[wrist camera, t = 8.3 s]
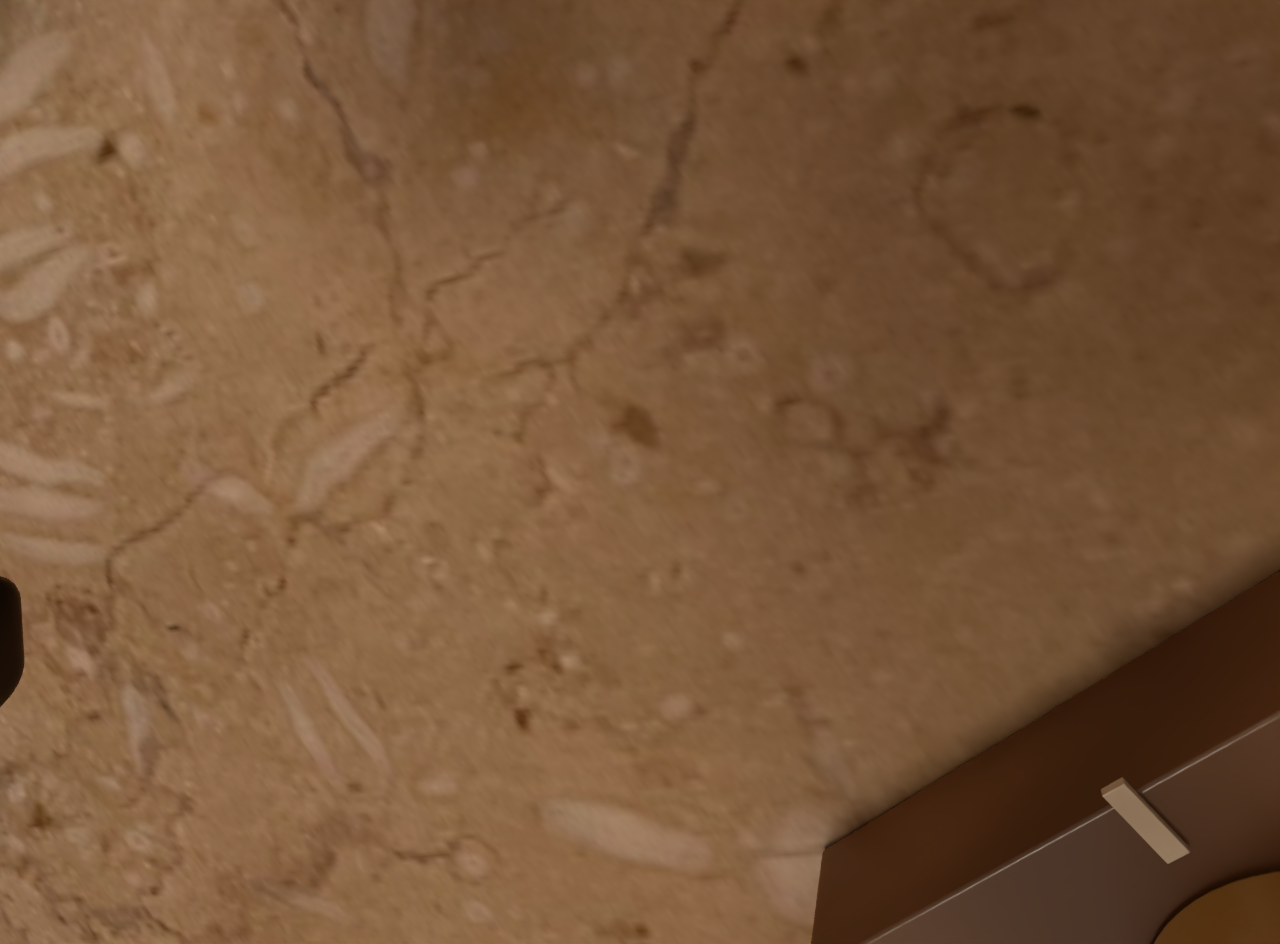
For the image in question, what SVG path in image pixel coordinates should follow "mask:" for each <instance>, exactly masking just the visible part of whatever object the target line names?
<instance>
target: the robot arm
mask: <svg viewBox="0 0 1280 944" xmlns="http://www.w3.org/2000/svg"><path fill="white" fill-rule="evenodd" d="M23 668H24V645H23V628H22V611H21V597H20V592H19V591H18V589H17V587H16V585H15V584H14V583H13V582H11V581H10V580H9V579H7V578H4V577H1V576H0V707H1V706H2V705H3V704H4V702H5V701H6V700H7V699H8V698H9V697H10V695H11V694H12V693H13V692H14V690H15V688H16V687H17V685H18V683H19V681H20V678H21V676H22V673H23Z"/></svg>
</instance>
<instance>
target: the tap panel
mask: <svg viewBox="0 0 1280 944" xmlns="http://www.w3.org/2000/svg"><path fill="white" fill-rule="evenodd" d="M1273 871H1280V571H1278V572H1277V573H1275V574H1273V575H1272V576H1270V577H1269V578H1267V579H1265V580H1264V581H1262V582H1260V583H1259V584H1257V585H1255V586H1254V587H1252V588H1251V589H1249V590H1247V591H1246V592H1244V593H1242V594H1241V595H1239V596H1238V597H1236V598H1234V599H1233V600H1231V601H1229V602H1228V603H1226V604H1225V605H1223V606H1221V607H1220V608H1218V609H1216V610H1215V611H1213V612H1212V613H1210V614H1208V615H1207V616H1205V617H1203V618H1202V619H1200V620H1199V621H1197V622H1195V623H1194V624H1192V625H1190V626H1189V627H1187V628H1185V629H1184V630H1182V631H1181V632H1179V633H1177V634H1176V635H1174V636H1172V637H1171V638H1169V639H1168V640H1166V641H1164V642H1163V643H1161V644H1159V645H1158V646H1156V647H1155V648H1153V649H1151V650H1150V651H1148V652H1146V653H1145V654H1143V655H1142V656H1140V657H1138V658H1137V659H1135V660H1133V661H1132V662H1130V663H1128V664H1127V665H1125V666H1124V667H1122V668H1120V669H1119V670H1117V671H1115V672H1114V673H1112V674H1111V675H1109V676H1107V677H1106V678H1104V679H1102V680H1101V681H1099V682H1098V683H1096V684H1094V685H1093V686H1091V687H1089V688H1088V689H1086V690H1085V691H1083V692H1081V693H1080V694H1078V695H1076V696H1075V697H1073V698H1072V699H1070V700H1068V701H1067V702H1065V703H1063V704H1062V705H1060V706H1058V707H1057V708H1055V709H1054V710H1052V711H1050V712H1049V713H1047V714H1045V715H1044V716H1042V717H1041V718H1039V719H1037V720H1036V721H1034V722H1032V723H1031V724H1029V725H1028V726H1026V727H1024V728H1023V729H1021V730H1019V731H1018V732H1016V733H1015V734H1013V735H1011V736H1010V737H1008V738H1006V739H1005V740H1003V741H1001V742H1000V743H998V744H997V745H995V746H993V747H992V748H990V749H988V750H987V751H985V752H984V753H982V754H980V755H979V756H977V757H975V758H974V759H972V760H971V761H969V762H967V763H966V764H964V765H962V766H961V767H959V768H958V769H956V770H954V771H953V772H951V773H949V774H948V775H946V776H945V777H943V778H941V779H940V780H938V781H936V782H935V783H933V784H931V785H930V786H928V787H927V788H925V789H923V790H922V791H920V792H918V793H917V794H915V795H914V796H912V797H910V798H909V799H907V800H905V801H904V802H902V803H901V804H899V805H897V806H896V807H894V808H892V809H891V810H889V811H888V812H886V813H884V814H883V815H881V816H879V817H878V818H876V819H875V820H873V821H871V822H870V823H868V824H866V825H865V826H863V827H861V828H860V829H858V830H857V831H855V832H853V833H852V834H850V835H848V836H847V837H845V838H844V839H842V840H840V841H839V842H837V843H835V844H834V845H832V846H831V847H829V848H827V849H826V850H825V851H824V852H823V854H822V862H821V870H820V878H819V885H818V893H817V901H816V909H815V917H814V925H813V933H812V941H811V944H1154V943H1155V941H1156V939H1157V937H1158V936H1159V934H1160V933H1161V931H1162V930H1163V929H1164V927H1165V926H1166V925H1167V923H1168V922H1169V921H1170V920H1171V919H1172V918H1173V917H1174V916H1175V915H1176V914H1177V913H1178V912H1179V911H1181V910H1182V909H1183V908H1185V907H1186V906H1187V905H1189V904H1190V903H1191V902H1193V901H1194V900H1196V899H1197V898H1199V897H1201V896H1203V895H1204V894H1206V893H1208V892H1210V891H1211V890H1214V889H1216V888H1218V887H1221V886H1223V885H1225V884H1228V883H1230V882H1233V881H1236V880H1240V879H1243V878H1246V877H1249V876H1253V875H1258V874H1263V873H1268V872H1273Z"/></svg>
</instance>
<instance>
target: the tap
mask: <svg viewBox="0 0 1280 944" xmlns="http://www.w3.org/2000/svg"><path fill="white" fill-rule="evenodd" d="M1154 944H1280V871H1273V872H1268V873H1263V874H1258V875H1253V876H1249V877H1246V878H1243V879H1240V880H1236V881H1233V882H1230V883H1228V884H1225V885H1223V886H1221V887H1218V888H1216V889H1214V890H1211V891H1210V892H1208V893H1206V894H1204V895H1203V896H1201V897H1199V898H1197V899H1196V900H1194V901H1193V902H1191V903H1190V904H1189V905H1187V906H1186V907H1185V908H1183V909H1182V910H1181V911H1179V912H1178V913H1177V914H1176V915H1175V916H1174V917H1173V918H1172V919H1171V920H1170V921H1169V922H1168V923H1167V925H1166V926H1165V927H1164V929H1163V930H1162V931H1161V933H1160V934H1159V936H1158V937H1157V939H1156V941H1155V943H1154Z"/></svg>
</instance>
